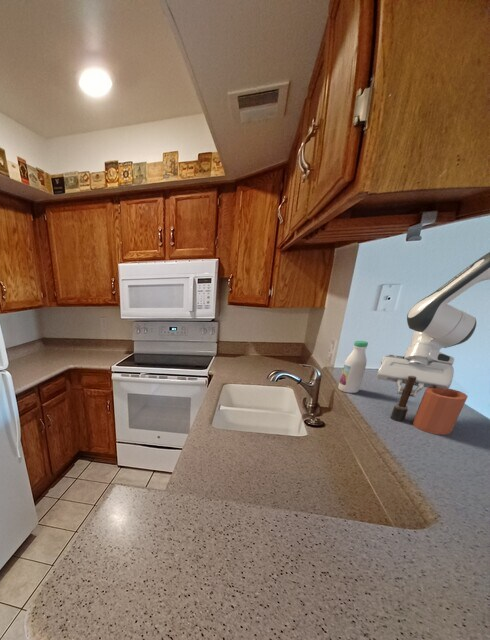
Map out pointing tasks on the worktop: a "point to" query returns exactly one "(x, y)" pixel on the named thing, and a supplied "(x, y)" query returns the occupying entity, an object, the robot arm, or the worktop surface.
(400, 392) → the robot arm
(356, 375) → the milk bottle
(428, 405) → the jar
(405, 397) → the brush
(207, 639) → the worktop surface
